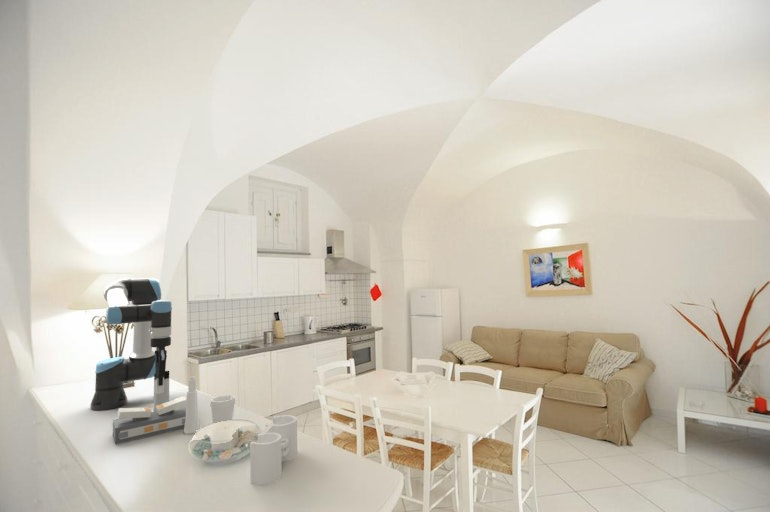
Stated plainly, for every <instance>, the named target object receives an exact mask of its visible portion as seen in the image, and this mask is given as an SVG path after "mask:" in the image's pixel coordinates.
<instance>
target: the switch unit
mask: <svg viewBox="0 0 770 512" xmlns="http://www.w3.org/2000/svg"><path fill="white" fill-rule="evenodd" d="M185 419H186V405H185V406H183V407H180V408H177V409H174V410H172V411H169V412H166V413H164V414H161V415H159V414H158V413H157V411H154V412H153V411H152V412H151V417H141V418H119V419H118V418H116V419H112V437H113V443H114V444H115V445H119V444H123V443H127V442H131V441H134V440H140V439H144V438H147V437H151V436H152V437H153V436H156V435H160V434H165V433H169V432H172V431H177V430H181V429H184V427H185Z"/></svg>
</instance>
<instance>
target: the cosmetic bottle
mask: <svg viewBox="0 0 770 512" xmlns="http://www.w3.org/2000/svg"><path fill="white" fill-rule="evenodd" d="M187 386H188V387H187V388H188V391H187V393H186V399H187V404H186V419H185V427H184V428H183V434H185V435H191V434H195V433H194V432H196V430H198V429H199V428H200V423H199V422H200V421H199V411H198V410H199V407H198V390H197V379H196V376H189V379H188V385H187ZM196 433H197V432H196Z"/></svg>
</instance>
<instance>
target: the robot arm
mask: <svg viewBox="0 0 770 512" xmlns="http://www.w3.org/2000/svg"><path fill="white" fill-rule="evenodd" d="M159 281H160V280H158V279H157V278H150V277H148V278H147V277H145V278H121V279H117V280H115V281H113V282H111V283H109V285H107V286H106V287H105V288H104V291H103V297H104V299H105V301H106V302H107V303H108V305H109V306H108V307H107V308H106V311H105V312H106V313H105V315H106V324H108V325H123V324H131V323H132V324H133V339H132V340H133V342H132V343H133V344H132V352H131V353H129V355H128V357H129V358H125V356H115V357H112V358H111V357H110V358H106V359H103V360H100V361H99V362H98V363H96V366H95V371H94V374H95V388H94V389H95V390H94V391H95V392H94V394H93V397H92V400H91V402H90V410H92V411H104V410H111V409H115V408H119V407H120V408H121V407H122V406H124V405H127V403H128V397H127V395H126V390H125V389H124V384H125V383H127V382H134V381H135V382H136V381H140V380H141V381H142V380H147V379H151V378H154V374H156V377H155V379H156V394H158V393H164V377H165V371H166V368H167V367H166V366H167V357H168V356H167V353H168V350H166V347H169V346H171V344H172V337H171V335H172V310H173V307H172V301H171V300H161V299H162V289H161V288H162V287H161V285H160V282H159ZM130 302H131V303H130ZM153 348H155V350H154V351H153Z"/></svg>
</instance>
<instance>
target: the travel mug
mask: <svg viewBox="0 0 770 512" xmlns="http://www.w3.org/2000/svg"><path fill="white" fill-rule="evenodd" d="M155 377H156V374H154V377H153V411H152V412H154V411H157V410H156V406H157V405H160V404H163V403H166V402H169V401H170V370H165V377H164V393H158V394H156V379H155Z"/></svg>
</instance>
